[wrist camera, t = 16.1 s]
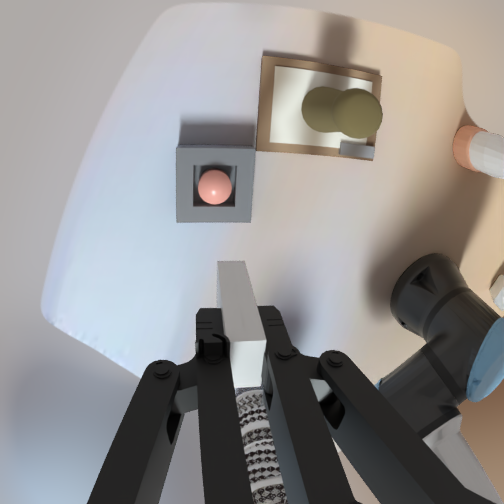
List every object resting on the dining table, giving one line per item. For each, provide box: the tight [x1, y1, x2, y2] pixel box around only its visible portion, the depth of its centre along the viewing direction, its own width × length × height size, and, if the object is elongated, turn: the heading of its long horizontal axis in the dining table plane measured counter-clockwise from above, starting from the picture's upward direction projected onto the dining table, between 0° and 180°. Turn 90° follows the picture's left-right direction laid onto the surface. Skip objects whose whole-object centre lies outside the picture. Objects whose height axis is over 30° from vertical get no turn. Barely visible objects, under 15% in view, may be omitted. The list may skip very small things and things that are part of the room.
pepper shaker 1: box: [301, 86, 383, 139], centre depth 32 cm, size 6×6×11 cm
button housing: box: [176, 145, 256, 223], centre depth 39 cm, size 9×9×3 cm
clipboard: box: [256, 56, 382, 161], centre depth 37 cm, size 16×12×1 cm
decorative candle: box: [236, 390, 288, 504], centre depth 49 cm, size 9×9×25 cm
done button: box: [198, 168, 232, 204], centre depth 37 cm, size 4×4×2 cm
